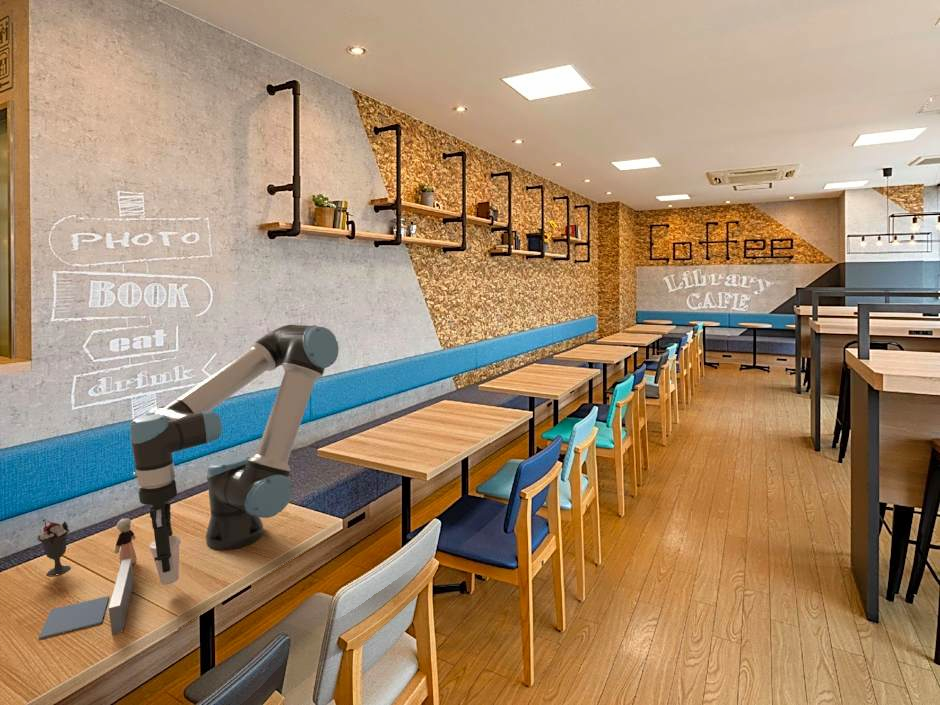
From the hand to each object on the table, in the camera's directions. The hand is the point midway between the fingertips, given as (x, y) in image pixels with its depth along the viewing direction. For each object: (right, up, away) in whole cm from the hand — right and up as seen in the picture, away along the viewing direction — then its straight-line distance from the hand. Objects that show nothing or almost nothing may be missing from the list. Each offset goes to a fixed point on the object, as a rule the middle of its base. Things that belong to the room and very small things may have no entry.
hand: (169, 575), depth 129 cm
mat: (-16, -6, -8) cm, 19 cm away
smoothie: (0, -1, 0) cm, 1 cm away
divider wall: (-8, -5, -4) cm, 11 cm away
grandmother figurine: (-18, -3, +14) cm, 24 cm away
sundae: (-35, -4, +12) cm, 37 cm away
